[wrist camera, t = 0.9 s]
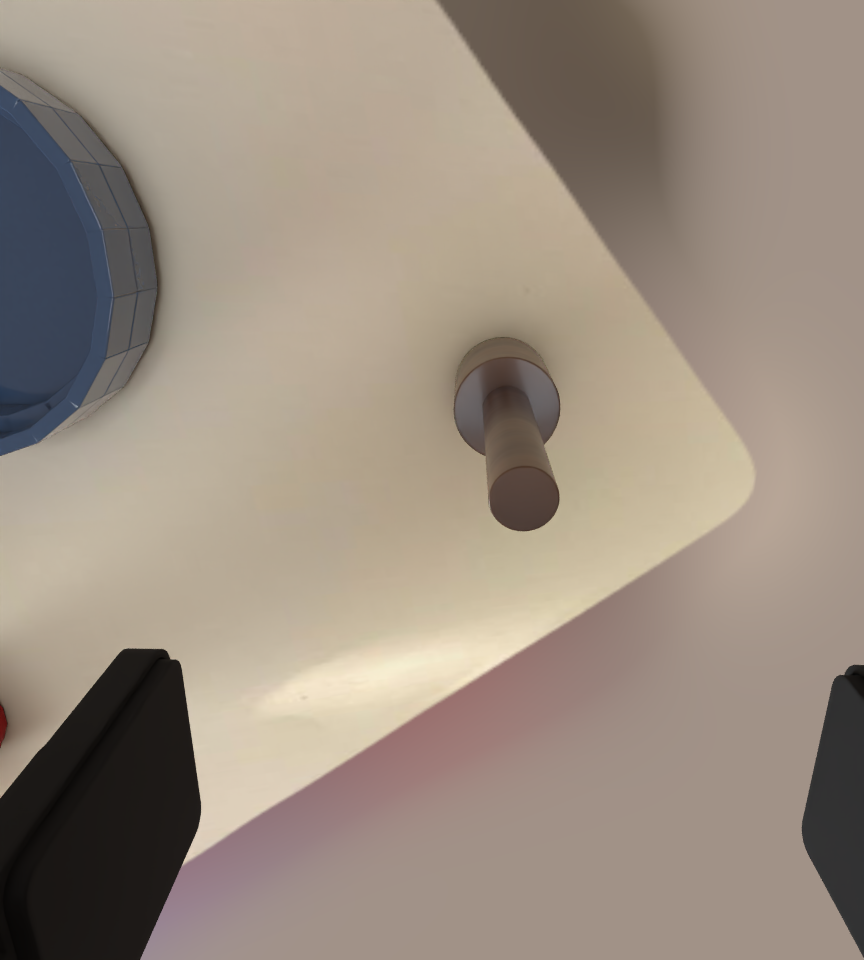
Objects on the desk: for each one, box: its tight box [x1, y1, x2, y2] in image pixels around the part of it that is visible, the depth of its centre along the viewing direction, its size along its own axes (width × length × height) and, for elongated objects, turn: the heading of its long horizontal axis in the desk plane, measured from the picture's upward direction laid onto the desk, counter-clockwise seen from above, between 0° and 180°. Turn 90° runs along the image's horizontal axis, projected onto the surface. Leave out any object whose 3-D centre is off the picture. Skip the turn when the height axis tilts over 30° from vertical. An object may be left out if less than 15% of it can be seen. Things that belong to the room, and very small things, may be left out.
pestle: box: [454, 337, 560, 531], centre depth 27 cm, size 4×4×15 cm
